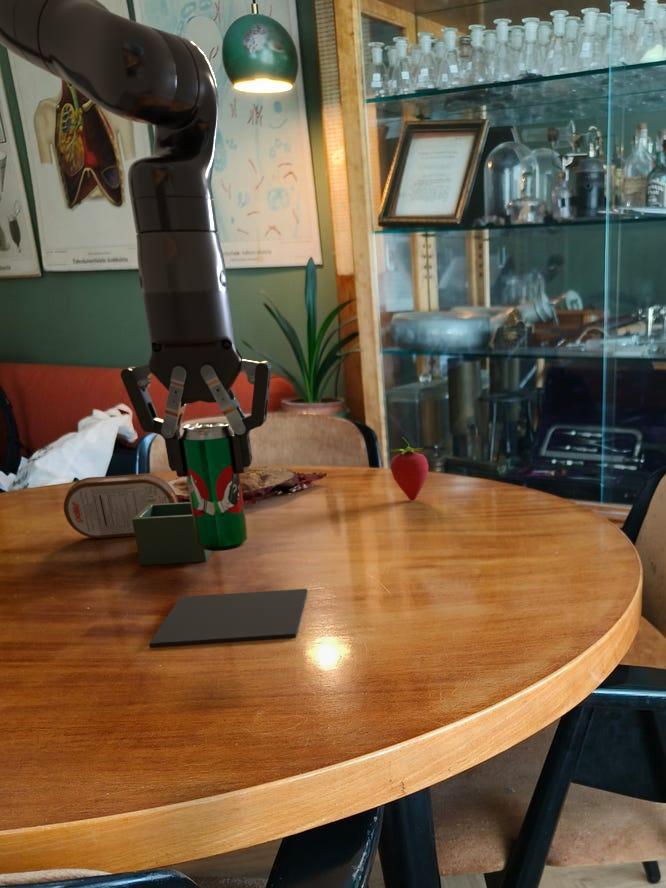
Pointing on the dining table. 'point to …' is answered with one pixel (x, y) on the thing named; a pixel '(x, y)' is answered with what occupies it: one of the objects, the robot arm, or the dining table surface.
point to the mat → (232, 618)
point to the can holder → (167, 535)
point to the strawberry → (409, 470)
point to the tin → (113, 503)
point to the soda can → (214, 486)
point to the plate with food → (257, 483)
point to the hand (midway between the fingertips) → (212, 472)
